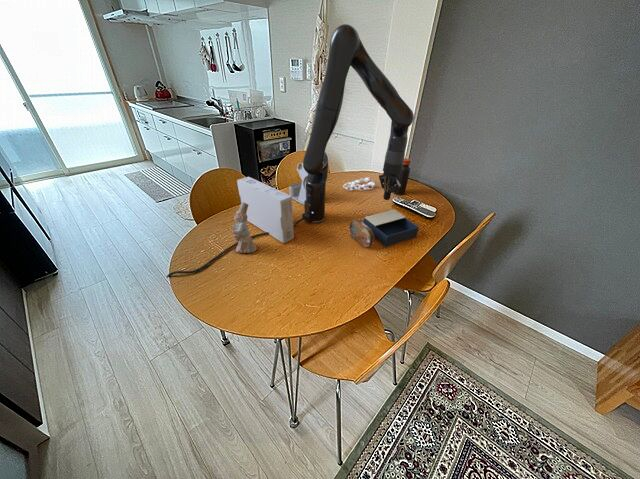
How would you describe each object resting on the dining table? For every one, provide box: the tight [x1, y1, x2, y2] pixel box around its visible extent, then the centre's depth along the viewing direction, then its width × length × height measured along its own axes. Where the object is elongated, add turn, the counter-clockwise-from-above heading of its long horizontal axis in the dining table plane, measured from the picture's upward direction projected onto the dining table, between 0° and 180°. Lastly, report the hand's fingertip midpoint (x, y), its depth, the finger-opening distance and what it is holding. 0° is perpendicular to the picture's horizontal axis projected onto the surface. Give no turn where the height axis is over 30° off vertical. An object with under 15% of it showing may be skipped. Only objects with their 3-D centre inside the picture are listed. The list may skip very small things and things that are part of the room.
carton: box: [363, 217, 420, 248], centre depth 117 cm, size 18×17×5 cm
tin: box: [349, 219, 376, 248], centre depth 110 cm, size 15×3×8 cm, turn 27°
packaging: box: [236, 176, 295, 244], centre depth 114 cm, size 30×6×20 cm, turn 47°
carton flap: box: [364, 209, 407, 226], centre depth 118 cm, size 18×8×1 cm, turn 117°
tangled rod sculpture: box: [342, 176, 377, 192], centre depth 159 cm, size 19×14×4 cm
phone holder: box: [288, 162, 308, 206], centre depth 141 cm, size 17×10×18 cm, turn 42°
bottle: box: [393, 157, 411, 196], centre depth 149 cm, size 7×7×20 cm
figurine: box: [231, 202, 258, 254], centre depth 101 cm, size 9×8×20 cm
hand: (386, 199), depth 115 cm, fingers closed
